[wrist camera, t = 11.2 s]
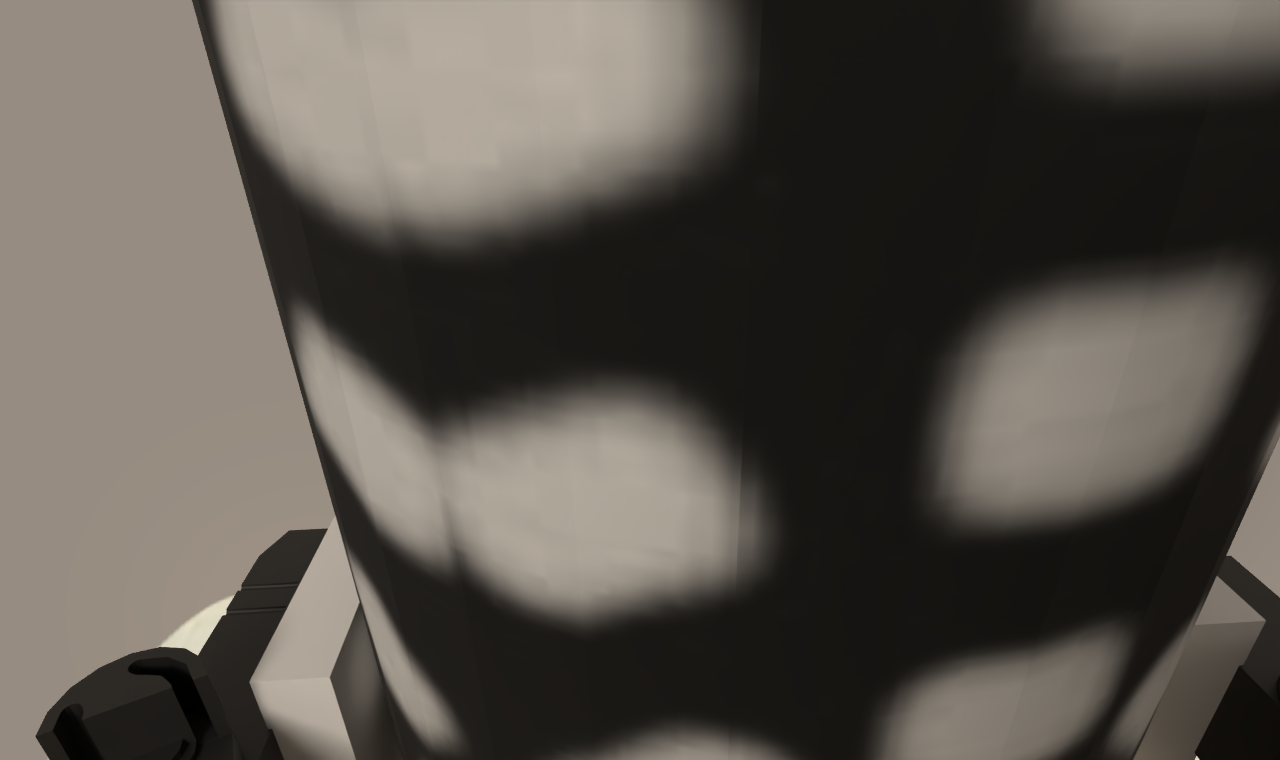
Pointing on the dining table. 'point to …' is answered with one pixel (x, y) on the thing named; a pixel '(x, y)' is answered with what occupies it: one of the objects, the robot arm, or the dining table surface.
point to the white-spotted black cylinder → (772, 356)
